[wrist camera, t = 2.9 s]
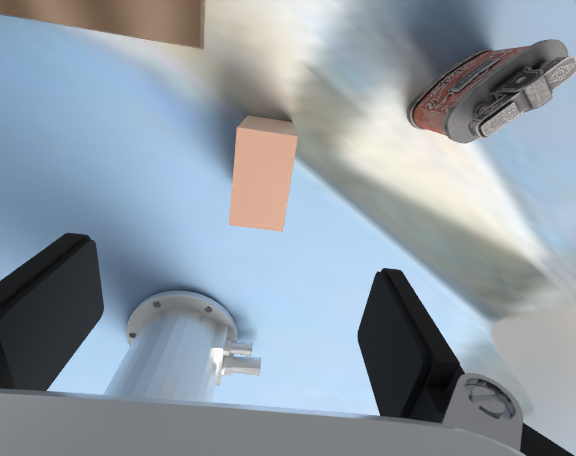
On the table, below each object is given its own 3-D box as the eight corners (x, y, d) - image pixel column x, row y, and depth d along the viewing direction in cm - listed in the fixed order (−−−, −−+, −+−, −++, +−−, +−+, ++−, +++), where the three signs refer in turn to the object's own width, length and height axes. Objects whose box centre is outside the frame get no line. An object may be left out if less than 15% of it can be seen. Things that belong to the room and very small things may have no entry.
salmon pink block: (292, 122, 28) (297, 136, 21) (281, 196, 31) (282, 231, 24) (247, 115, 28) (236, 127, 21) (240, 190, 31) (229, 224, 23)
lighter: (484, 39, 26) (595, 16, 17) (501, 74, 27) (614, 71, 18) (399, 107, 28) (458, 120, 19) (418, 137, 29) (483, 163, 20)
